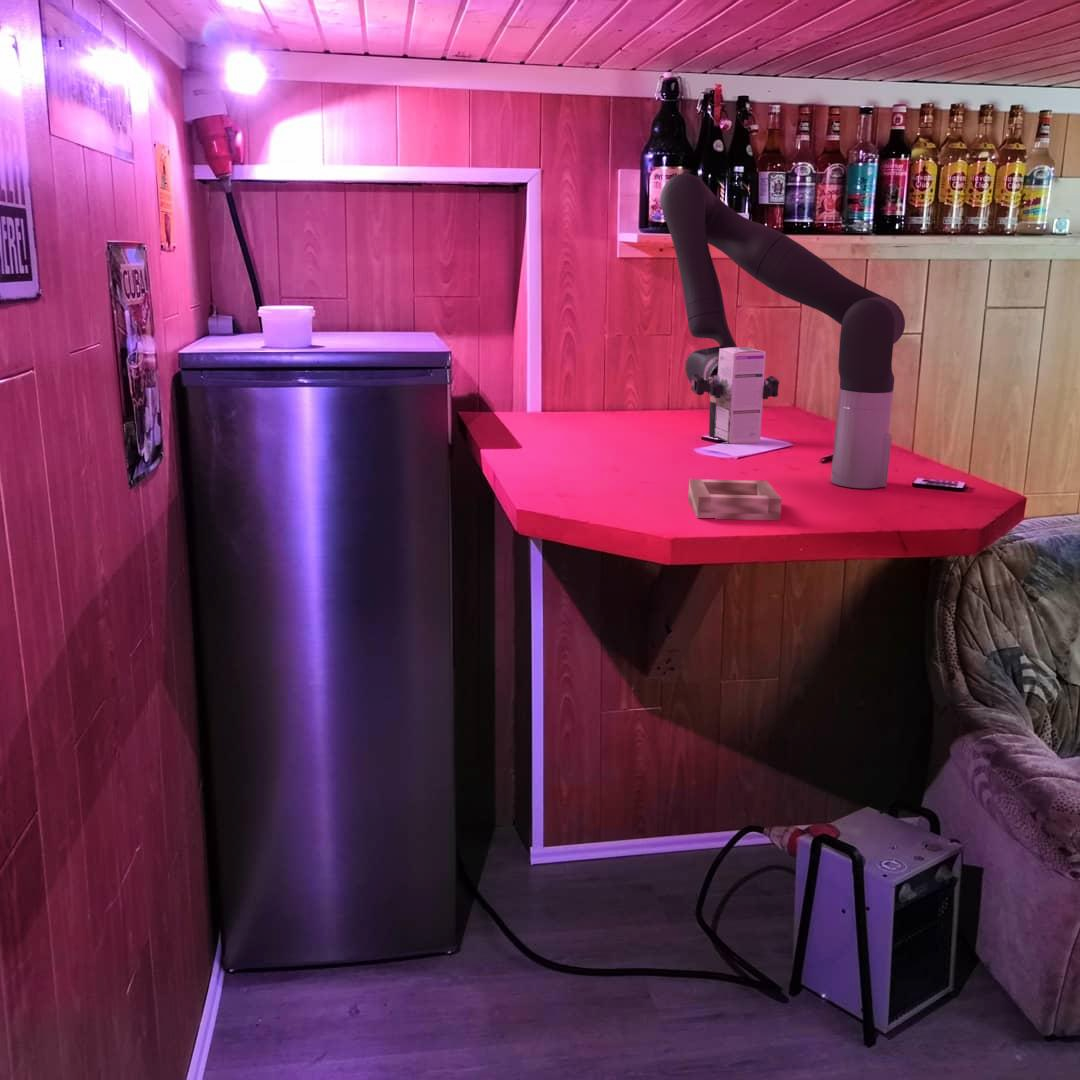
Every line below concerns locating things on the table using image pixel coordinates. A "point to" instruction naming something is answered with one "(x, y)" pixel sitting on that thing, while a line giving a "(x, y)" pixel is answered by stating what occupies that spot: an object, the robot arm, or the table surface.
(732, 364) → the syrup box
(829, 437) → the table surface
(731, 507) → the holder
